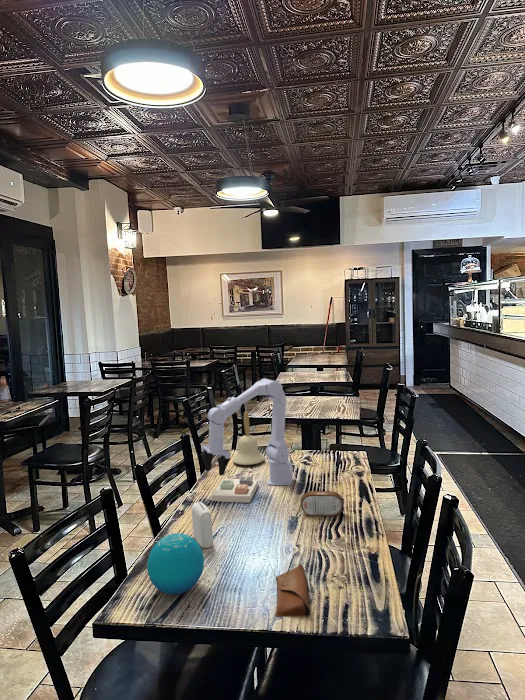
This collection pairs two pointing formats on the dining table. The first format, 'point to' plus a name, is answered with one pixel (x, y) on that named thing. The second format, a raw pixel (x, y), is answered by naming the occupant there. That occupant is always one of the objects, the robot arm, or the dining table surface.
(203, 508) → the photo printer
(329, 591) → the dining table surface
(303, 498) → the tin
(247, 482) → the key one
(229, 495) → the key panel
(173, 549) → the decorative orb
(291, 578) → the sunglasses case
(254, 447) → the handbell
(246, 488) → the key two
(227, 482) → the key three
